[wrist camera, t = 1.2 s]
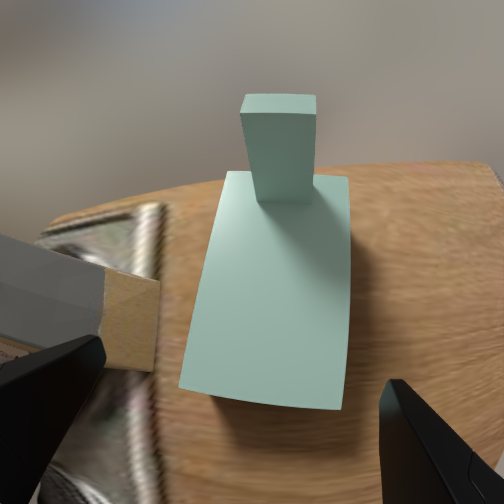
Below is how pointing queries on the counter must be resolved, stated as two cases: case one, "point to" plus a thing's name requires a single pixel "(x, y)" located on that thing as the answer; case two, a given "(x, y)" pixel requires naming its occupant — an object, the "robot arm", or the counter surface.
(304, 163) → the lid
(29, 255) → the sandwich container
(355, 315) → the counter surface
